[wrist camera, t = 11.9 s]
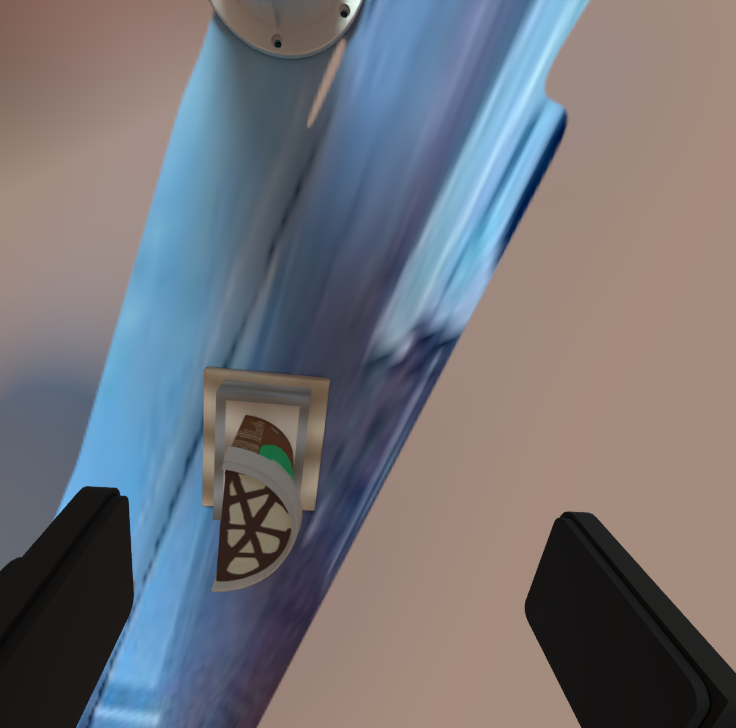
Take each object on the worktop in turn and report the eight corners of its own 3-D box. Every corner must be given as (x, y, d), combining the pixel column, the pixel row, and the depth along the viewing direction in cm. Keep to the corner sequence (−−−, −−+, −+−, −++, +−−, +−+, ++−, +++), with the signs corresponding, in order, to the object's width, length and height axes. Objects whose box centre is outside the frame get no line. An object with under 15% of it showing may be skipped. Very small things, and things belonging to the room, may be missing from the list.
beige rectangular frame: (206, 366, 40) (194, 382, 37) (329, 378, 42) (330, 394, 38) (204, 499, 45) (194, 525, 42) (314, 504, 47) (314, 530, 43)
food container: (297, 515, 42) (290, 601, 33) (235, 511, 42) (210, 597, 32) (314, 408, 39) (311, 470, 29) (246, 399, 38) (221, 461, 28)
